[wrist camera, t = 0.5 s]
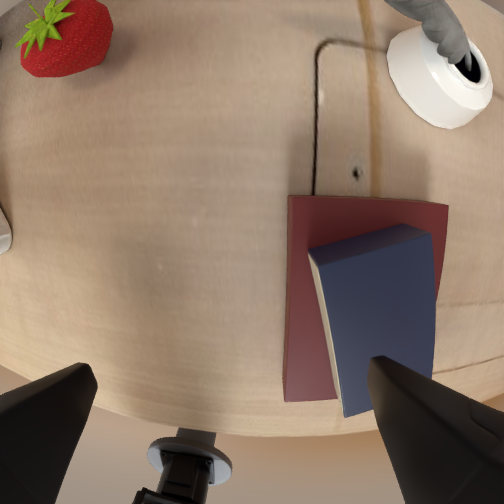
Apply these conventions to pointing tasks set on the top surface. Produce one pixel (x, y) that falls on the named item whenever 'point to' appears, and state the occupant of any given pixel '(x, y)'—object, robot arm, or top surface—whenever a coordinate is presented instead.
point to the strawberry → (66, 38)
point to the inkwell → (438, 65)
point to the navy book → (376, 306)
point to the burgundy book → (302, 282)
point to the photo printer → (4, 234)
